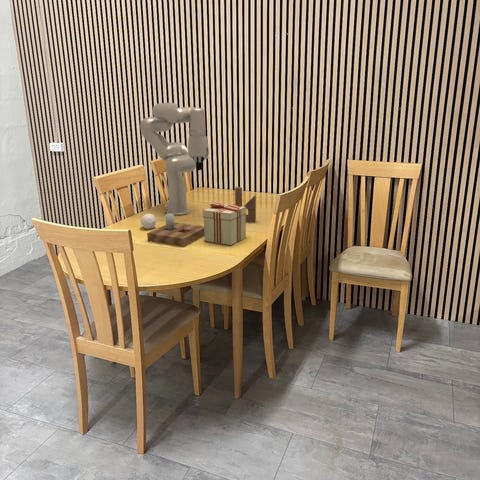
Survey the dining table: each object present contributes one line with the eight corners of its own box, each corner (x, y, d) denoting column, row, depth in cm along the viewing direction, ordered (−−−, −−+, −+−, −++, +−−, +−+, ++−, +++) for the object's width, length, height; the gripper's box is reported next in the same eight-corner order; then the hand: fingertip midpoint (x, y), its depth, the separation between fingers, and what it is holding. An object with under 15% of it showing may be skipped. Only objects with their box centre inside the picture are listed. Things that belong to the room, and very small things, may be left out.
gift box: (249, 234, 233) (249, 199, 228) (233, 246, 217) (233, 209, 212) (218, 230, 240) (217, 196, 234) (200, 242, 224) (198, 205, 218)
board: (147, 241, 226) (147, 233, 225) (172, 229, 243) (171, 221, 242) (183, 247, 217) (183, 238, 216) (206, 234, 234) (206, 226, 233)
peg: (165, 237, 231) (163, 215, 228) (169, 235, 234) (168, 213, 231) (171, 238, 229) (170, 216, 226) (176, 236, 233) (175, 214, 229)
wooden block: (254, 222, 252) (254, 188, 246) (234, 221, 254) (233, 188, 248) (256, 221, 255) (255, 187, 250) (236, 219, 258) (235, 186, 252)
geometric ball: (145, 233, 247) (138, 219, 248) (159, 226, 248) (152, 212, 249) (144, 230, 239) (137, 216, 240) (159, 222, 241) (151, 208, 242)
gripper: (181, 133, 243) (183, 170, 249) (206, 134, 237) (208, 172, 242) (189, 132, 249) (191, 167, 255) (214, 133, 243) (215, 169, 249)
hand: (199, 169), depth 249 cm, fingers closed
